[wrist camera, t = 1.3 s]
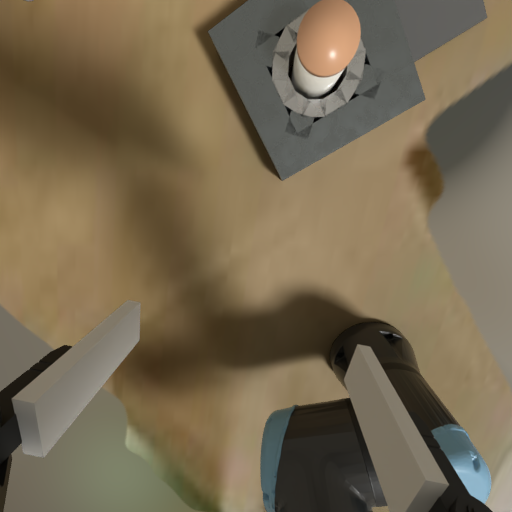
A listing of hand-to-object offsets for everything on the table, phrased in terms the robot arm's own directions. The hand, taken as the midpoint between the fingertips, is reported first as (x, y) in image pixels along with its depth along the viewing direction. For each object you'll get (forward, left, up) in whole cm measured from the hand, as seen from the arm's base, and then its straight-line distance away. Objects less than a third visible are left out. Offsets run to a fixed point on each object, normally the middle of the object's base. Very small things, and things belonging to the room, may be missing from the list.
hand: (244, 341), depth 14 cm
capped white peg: (+17, -17, -29) cm, 37 cm away
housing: (+17, -17, -29) cm, 37 cm away
